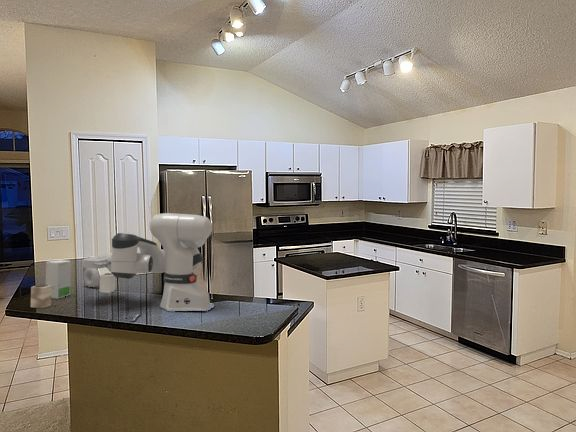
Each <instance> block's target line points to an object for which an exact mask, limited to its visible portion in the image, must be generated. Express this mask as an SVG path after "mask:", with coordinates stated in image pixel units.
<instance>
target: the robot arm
mask: <svg viewBox="0 0 576 432" xmlns="http://www.w3.org/2000/svg"><path fill="white" fill-rule="evenodd" d="M149 230H150V233H151V235H152V236H153V237H154V238H156V240H157V241H158V242H159V243H160V245H161V247H162V248H163V249H162V248H160V247H159V246H158V244H157V242H155V241H152V240H150V239H148V238H143V237H141V236H138V235H135V234H133V233H130V232H126V231H124V232H123V231H122V232H118V233H116V234H115V235H114V236H112V238H111V252H110V253H105V254H100V255H97V256H96V255H95V256H88V257H84V258H83V260H82V268H83V269H88V268H94V269H97V270H98V269H104V268H106V269H107V270H108V271H109V273H112V274H113V275H114V276H115V277H116V279H119V278H120V279H129V280H130V279H132V278H134V277H135V276H136V275H137V274H139V275H141V274H149V273H150V274H161V273H164V274H163V293H162V298H161V301H160V304H159V307H160V308H161V309H164V310H165V311H166V312H175V311H184V310H206V309H205V308H208V307H210V302H211V300H210V293H209V292H208V290H207V289H205V287H203V286H202V285H201V284H199V282H198V281H197V278H198V274H195V273H194V272H193V271H194V270H197V269H198V268H199V267H201V265H202V264H203V263H204V257H203V255H202V253H201V252H200V250H199V249H198V248H201V247H202V246H204V245H205V243H206V241H207V240H208V238H209V237H210V236H211V234H212V230H213V224H212V222H211V220H210V218H208V217H207V216H204V215H199V214H190V213H173V212H165V213H164V212H163V213H158V214H154V216H153V217H152V218H151V220H150V221H149ZM138 248H139V252H138Z"/></svg>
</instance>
